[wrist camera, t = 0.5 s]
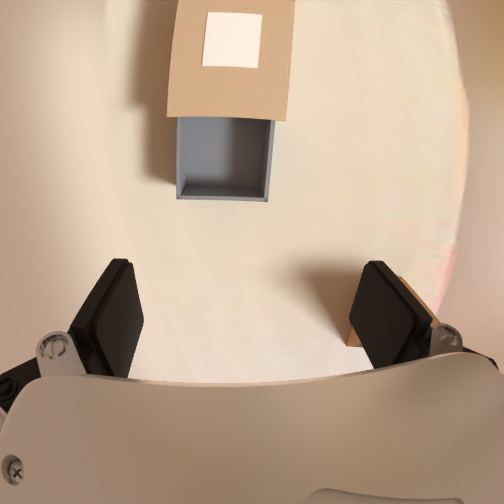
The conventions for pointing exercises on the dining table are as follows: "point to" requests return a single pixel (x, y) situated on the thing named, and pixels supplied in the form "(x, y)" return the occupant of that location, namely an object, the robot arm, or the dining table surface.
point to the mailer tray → (223, 158)
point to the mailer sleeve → (231, 59)
